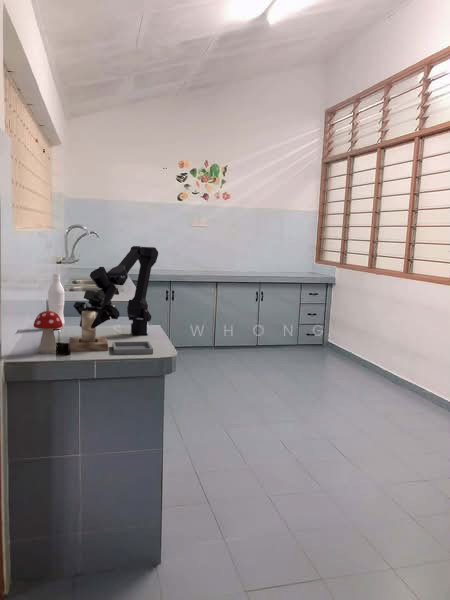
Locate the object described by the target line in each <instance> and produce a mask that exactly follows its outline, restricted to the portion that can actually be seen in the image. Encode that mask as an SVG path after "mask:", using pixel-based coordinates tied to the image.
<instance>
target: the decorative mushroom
mask: <svg viewBox="0 0 450 600" xmlns="http://www.w3.org/2000/svg"><path fill="white" fill-rule="evenodd" d="M62 326H63V324H62V321H61V319H60V317H59V315H58V314H56V313H55V312H52V311H49V310H45V311H42V312H40V313H39V314H38V315H37V316H36V317H35V320H34V323H33V328H35V329H38V330H42V335H41V338H40V343H39V346H38V348H37V349H38V353H39V354H46V355H49V354H56V353H57V352H56V346H57V347H58V345H57V341H56V337H55V333H54V330H57V328H60V327H62ZM53 329H54V330H53Z"/></svg>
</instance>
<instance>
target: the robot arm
mask: <svg viewBox="0 0 450 600" xmlns="http://www.w3.org/2000/svg"><path fill="white" fill-rule="evenodd" d="M158 257H159V251H158V249H157V248H156V247H154V246H142V245H133V246H131V247H130V249H129V252H127V254H126V255H125V256H124V258H122V260H121V261H120V262H119V264H118V265H116V266H114V267H111V269H109V270H108V271H107V270H106V268H105V266H99V267H98V268H96V269H94V270H92V271H91V272H90V274H89V278H90V279H91V281H92V282H93V283H94V285H95V286H96V288H98V289H100V290H97V291H96V290H87V289H86V290H85V292H84V294H83V299H84V300H86V301H88V304H89V305H88V304H87V303H86V302H85V301H75V302H74V304H73V308H74V309H75V310H76V312H77V313H78V314H79V315H80V316H81V317H80V321H79V322H80V323H79V327H80V328H82V311H95V312H96V315H95V320H94V322H93V323H92V326H91V328H92V329H94V328H95V329H96V328H97V327H98V326H100V325H101V324H103V323H106V322H108V321H110V320H118V319H119V317H120V316H121V315H120V314H121V313H120V311H119V310H118V309H117V307H116V306H115V305H113V304H112V299H113V298H114V296H115V295H117V296H119V295H120V291H119V288H118V287H116V286H124V285H125V283H126V282H127V280H128V277H129V272H130V271H131V269H132V268H133V266H134V265H135V264H136V263H137V261H138V262H139V265H140V267H139V270H138V275H137V281H136V287H135V290H134V291H135V292H134V296H133V298H132V299H129V300H128V302H127V303H128V305H127V307H126V309H127V310H126V311H127V317H128V320H129V321H131V323H130V334H133V335H132V336H148V334H149V333H148V323H149V322H151V320H152V315H151V313H150V311H149V310H148V308H149V305H148V302H147V299H146V298H147V293H148V288H149V282H150V277H151V273H152V272H151V271H152V268H153V266H154V265H155V264H156V263H157V260H158Z"/></svg>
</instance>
